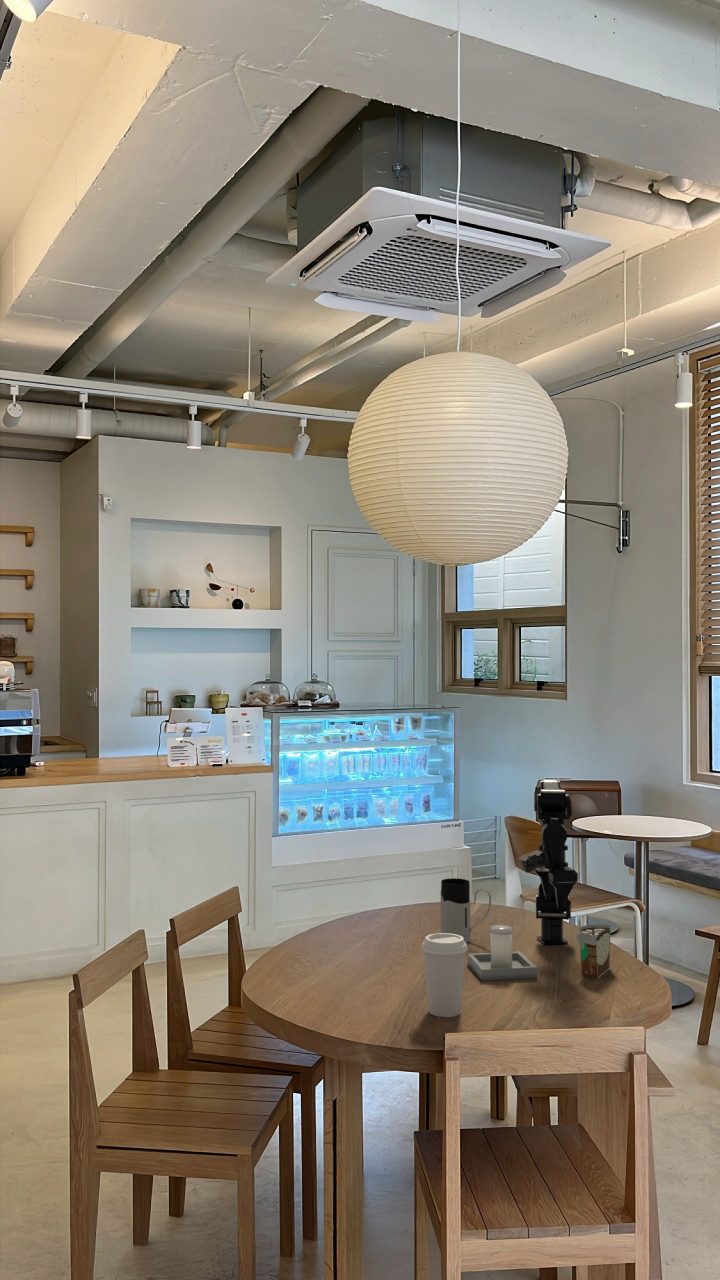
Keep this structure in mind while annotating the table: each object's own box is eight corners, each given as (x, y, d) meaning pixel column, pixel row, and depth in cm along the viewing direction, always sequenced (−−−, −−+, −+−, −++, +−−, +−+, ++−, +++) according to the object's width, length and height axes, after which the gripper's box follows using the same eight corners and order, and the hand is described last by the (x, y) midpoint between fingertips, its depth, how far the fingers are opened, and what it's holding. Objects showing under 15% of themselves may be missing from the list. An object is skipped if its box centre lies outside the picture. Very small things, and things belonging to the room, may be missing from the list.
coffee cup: (464, 1003, 204) (464, 931, 205) (471, 1019, 195) (471, 944, 195) (419, 1004, 204) (419, 932, 204) (423, 1020, 194) (423, 944, 195)
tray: (467, 964, 233) (467, 953, 233) (520, 962, 235) (520, 951, 235) (481, 980, 220) (481, 969, 220) (537, 978, 222) (537, 967, 222)
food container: (586, 963, 234) (585, 921, 234) (611, 967, 230) (611, 924, 231) (569, 976, 223) (568, 932, 223) (595, 980, 220) (595, 936, 220)
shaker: (488, 964, 229) (488, 925, 230) (508, 963, 230) (508, 924, 231) (494, 970, 224) (493, 930, 225) (515, 969, 225) (514, 930, 226)
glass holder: (446, 932, 262) (445, 876, 263) (496, 938, 256) (496, 881, 257) (434, 940, 254) (433, 882, 255) (485, 946, 248) (485, 887, 249)
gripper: (511, 835, 248) (511, 896, 248) (533, 848, 230) (533, 914, 229) (553, 834, 250) (553, 895, 249) (578, 846, 231) (579, 913, 230)
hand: (554, 904), depth 239 cm, fingers open, 9 cm apart
